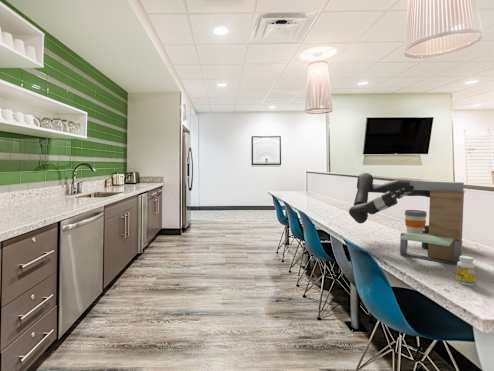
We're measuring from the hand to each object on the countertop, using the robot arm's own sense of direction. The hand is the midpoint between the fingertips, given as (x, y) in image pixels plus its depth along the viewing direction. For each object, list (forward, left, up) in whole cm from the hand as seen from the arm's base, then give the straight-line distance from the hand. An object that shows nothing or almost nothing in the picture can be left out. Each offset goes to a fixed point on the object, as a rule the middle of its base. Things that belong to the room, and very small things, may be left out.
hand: (415, 186), depth 140 cm
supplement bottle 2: (+29, +23, -34) cm, 50 cm away
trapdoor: (+12, +8, -23) cm, 27 cm away
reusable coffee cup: (-52, -10, -34) cm, 63 cm away
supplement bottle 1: (-17, +4, -34) cm, 38 cm away
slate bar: (-1, +8, -2) cm, 8 cm away
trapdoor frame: (+5, +8, -34) cm, 35 cm away
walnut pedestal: (-1, +13, -34) cm, 36 cm away
